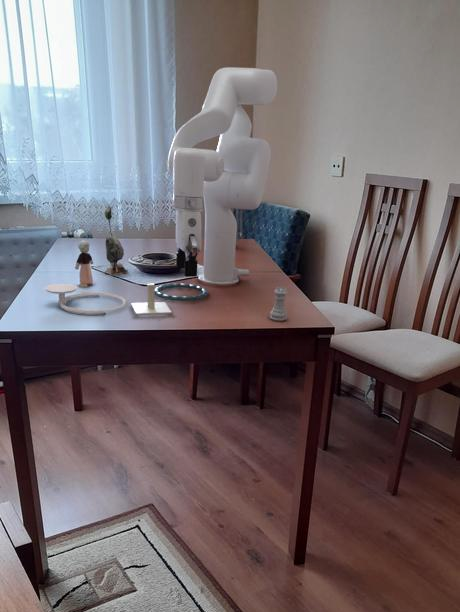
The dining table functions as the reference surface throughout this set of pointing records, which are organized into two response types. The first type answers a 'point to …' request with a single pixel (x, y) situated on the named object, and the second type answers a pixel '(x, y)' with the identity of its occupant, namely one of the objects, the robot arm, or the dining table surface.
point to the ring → (203, 290)
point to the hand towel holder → (70, 288)
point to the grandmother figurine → (84, 264)
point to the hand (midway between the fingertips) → (186, 272)
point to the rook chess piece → (279, 305)
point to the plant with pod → (114, 251)
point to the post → (151, 304)
